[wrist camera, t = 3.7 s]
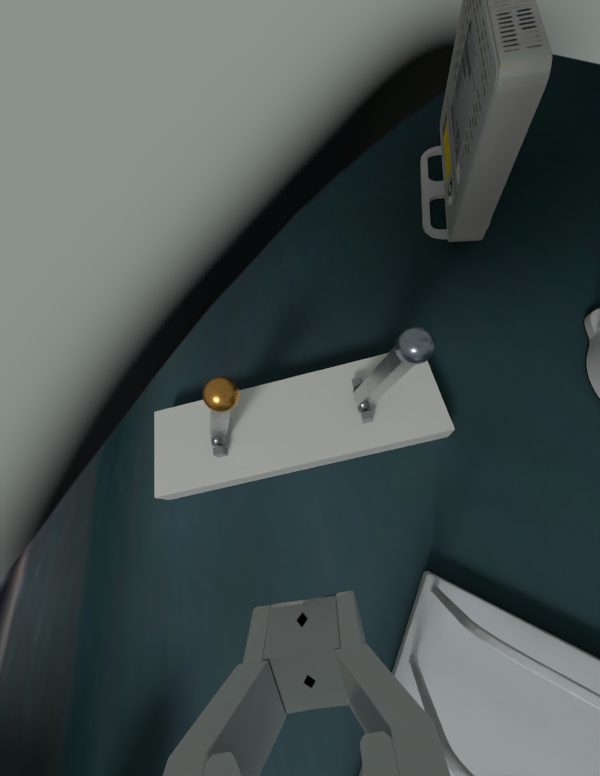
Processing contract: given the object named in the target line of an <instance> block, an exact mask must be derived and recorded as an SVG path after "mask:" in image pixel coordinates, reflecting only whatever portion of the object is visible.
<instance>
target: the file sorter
mask: <svg viewBox="0 0 600 776" xmlns="http://www.w3.org/2000/svg"><path fill="white" fill-rule="evenodd" d="M392 674H393V675H394V676H395V678H396V679H397V680H398V681H399V682H400V683H401V684H402V686H403V687H404V688H405V689H406V690H407V691H408V693H409V694H410V695H411V696H412V697H413V698H414V700H415V701H416V702H417V703H418V704H419V705H420V707H421V708H422V709H423V710H424V711H425V712H426V713H427V715H428V716H429V717H430V718H431V719H432V720H433V722H434V723H435V726H436V729H437V733H438V736H439V739H440V743H441V746H442V749H443V753H444V756H445V759H446V763H447V766H448V769H449V772H450V776H600V659H599V658H597V657H595V656H593V655H591V654H589V653H587V652H585V651H583V650H581V649H579V648H577V647H575V646H573V645H571V644H569V643H567V642H565V641H563V640H561V639H560V638H558V637H556V636H554V635H552V634H550V633H548V632H546V631H544V630H542V629H540V628H538V627H536V626H534V625H532V624H530V623H528V622H526V621H524V620H522V619H520V618H518V617H516V616H514V615H512V614H511V613H509V612H507V611H505V610H503V609H501V608H499V607H497V606H495V605H493V604H491V603H489V602H487V601H485V600H483V599H481V598H480V597H478V596H476V595H474V594H472V593H470V592H468V591H466V590H464V589H462V588H460V587H458V586H456V585H454V584H452V583H450V582H448V581H446V580H444V579H443V578H441V577H439V576H437V575H435V574H433V573H431V572H429V571H425V572H424V573H423V576H422V579H421V582H420V585H419V589H418V592H417V595H416V598H415V602H414V605H413V608H412V611H411V614H410V618H409V621H408V624H407V627H406V631H405V634H404V637H403V640H402V643H401V646H400V649H399V652H398V655H397V658H396V661H395V665H394V668H393V671H392ZM359 776H363V767H361V770H360V773H359Z"/></svg>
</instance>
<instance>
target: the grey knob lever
mask: <svg viewBox="0 0 600 776" xmlns="http://www.w3.org/2000/svg"><path fill="white" fill-rule="evenodd" d="M434 350H435V340H434V337H433V335H432V334H431V333H430V332H429V331H428V330H427V329H425V328H422V327H417V326H415V327H409V328H407V329H405V330H403V331H402V332H401V333H400V334H399V335H398V337H397V338H396V341H395V347H394V348H393V349H392V350H391V351H390V352H389V353H388V354H387V356H386V357H385V358H384V359H383V360H382V361H381V362H380V363H379V365H378V366H377V367H376V368H375V369H374V370H373V371H372V372H371V374H370V375H369V376H368V377H367V378H366V379H365V380H364V381H363V383H362V384H361V385H360V386H359V387H356V388H354V389H353V394H354V397H355V401H356V404H357V408H358V411H359V412H365V411H369V410H371V409H372V407H371V405H372V404H373V403H374V402H376V401H377V400H378V399H379V398H380V397H381V396H382V395H383V394H384V393H385V392H386V391H387V390H389V389H390V388H391V387H392V386H393V385H394V384H395V383H396V382H397V381H398V380H399V379H400V378H401V377H403V376H404V375H405V374H406V373H407V372H408V371H409V370H410V369H411V368H412V367H413V366H414V365H419V364H422V363H424V362H426V361H427V360H428V359H429V358H430V357H431V356H432V355H433V353H434Z"/></svg>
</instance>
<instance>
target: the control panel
mask: <svg viewBox="0 0 600 776" xmlns="http://www.w3.org/2000/svg"><path fill="white" fill-rule="evenodd" d="M387 354H388V353H386V354H382V355H378V356H374V357H370V358H366V359H362V360H358V361H354V362H351V363H347V364H343V365H339V366H335V367H331V368H327V369H323V370H319V371H315V372H311V373H307V374H303V375H299V376H295V377H291V378H287V379H283V380H279V381H275V382H271V383H267V384H263V385H259V386H255V387H251V388H247V389H243V390H240V398H239V401H238V403H237V405H236V406H235V407H234V408H233V409H232V410H231V413H230V418H229V424H228V430H227V436H226V440H225V445H223V446H218V447H213V446H212V444H211V442H210V430H209V423H210V409H209V408H208V407H207V406H206V404H205V403H204V400H200V401H196V402H192V403H188V404H184V405H180V406H176V407H172V408H168V409H164V410H160V411H156V412H154V426H155V498H160V499H167V500H171V499H176V498H180V497H185V496H189V495H193V494H198V493H202V492H207V491H211V490H216V489H220V488H224V487H229V486H233V485H238V484H242V483H246V482H251V481H255V480H260V479H264V478H269V477H273V476H277V475H282V474H286V473H291V472H295V471H299V470H304V469H308V468H313V467H317V466H322V465H326V464H330V463H335V462H339V461H344V460H348V459H352V458H357V457H361V456H366V455H370V454H375V453H379V452H383V451H388V450H392V449H397V448H401V447H406V446H410V445H414V444H419V443H423V442H428V441H432V440H436V439H441V438H445V437H448V436H449V435H450V434H451V433H452V432H453V431H454V430H455V428H454V426H453V423H452V421H451V418H450V416H449V413H448V411H447V409H446V406H445V404H444V401H443V399H442V396H441V394H440V391H439V389H438V386H437V384H436V381H435V379H434V376H433V374H432V371H431V369H430V366H429V364H428V361H426V362H424V363H422V364H419V365H414V366H413V367H412V368H411V369H410V370H409V371H408V372H407V373H406V374H405V375H404V376H403V377H401V378H400V379H399V380H398V381H397V382H396V383H395V384H394V385H393V386H392V387H391V388H390V389H389V390H387V391H386V392H385V393H384V394H383V395H382V396H381V397H380V398H379V399H378V400H377V401H376V402H374V403H373V404H372V405H371V407H372V409H371V410H369V411H365V412H359V411H358V408H357V404H356V401H355V397H354V394H353V389H354V388H356V387H359V386H360V385H361V384H362V383H363V381H364V380H365V379H366V378H367V377H368V376H369V375H370V374H371V372H372V371H373V370H374V369H375V368H376V367H377V366H378V365H379V363H380V362H381V361H382V360H383V359H384V358H385V357H386V356H387Z"/></svg>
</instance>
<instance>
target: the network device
mask: <svg viewBox="0 0 600 776" xmlns="http://www.w3.org/2000/svg"><path fill="white" fill-rule="evenodd" d="M551 64H552V51H551V48H550V45H549V42H548V39H547V35H546V32H545V29H544V26H543V23H542V19H541V16H540V13H539V10H538V6H537V3H536V0H463V2H462V7H461V12H460V18H459V23H458V29H457V34H456V40H455V44H454V50H453V55H452V61H451V66H450V71H449V77H448V82H447V87H446V92H445V98H444V103H443V108H442V114H441V121H440V138H441V146H436V147H433V148H430V149H428V150H427V151H426V152H424V154H423V155H422V157H421V162H420V170H421V200H422V226H423V230H424V232H425V233H426V234H427V235H429V236H430V237H433V238H435V239H448V242H461V241H480V240H482V239H483V237H484V235H485V232H486V230H487V229H488V227H489V225H490V222H491V218H492V215H493V213H494V211H495V208H496V206H497V203H498V201H499V198H500V196H501V194H502V191H503V189H504V186H505V184H506V181H507V179H508V177H509V174H510V172H511V169H512V167H513V165H514V162H515V160H516V157H517V155H518V152H519V150H520V148H521V145H522V143H523V140H524V138H525V136H526V133H527V131H528V128H529V126H530V123H531V121H532V119H533V116H534V114H535V111H536V109H537V106H538V104H539V102H540V99H541V97H542V94H543V92H544V90H545V87H546V84H547V81H548V78H549V74H550V70H551ZM435 155H442V166H443V180H444V181H432V180H430V179H429V177H428V161H427V159H428V158H429V157H431V156H435ZM441 198H445V208H446V222H447V229H435V228H433V227H432V226H431V224H430V204H429V203H430V202H431V201H432V200H434V199H441Z"/></svg>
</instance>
